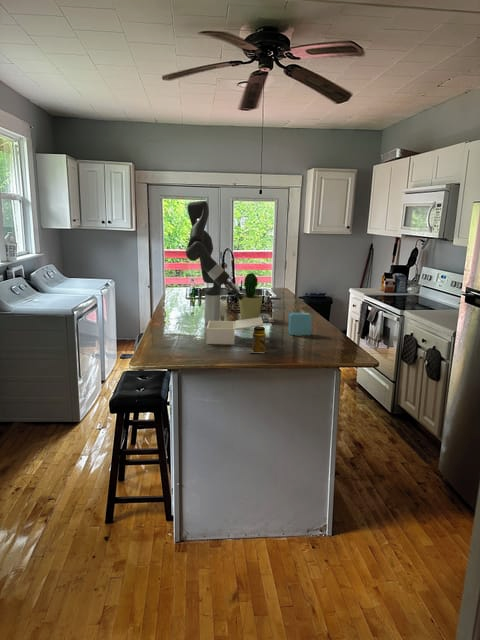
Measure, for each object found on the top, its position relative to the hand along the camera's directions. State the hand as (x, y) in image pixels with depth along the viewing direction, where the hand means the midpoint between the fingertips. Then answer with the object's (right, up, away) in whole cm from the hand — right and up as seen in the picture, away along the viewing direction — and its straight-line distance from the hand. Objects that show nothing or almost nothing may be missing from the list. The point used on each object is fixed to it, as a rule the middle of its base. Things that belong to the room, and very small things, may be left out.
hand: (242, 298), depth 230 cm
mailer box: (-11, -21, +4) cm, 24 cm away
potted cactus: (+5, -11, +56) cm, 57 cm away
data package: (+32, -19, +19) cm, 42 cm away
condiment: (+7, -26, -16) cm, 32 cm away
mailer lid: (+4, -12, +3) cm, 13 cm away
